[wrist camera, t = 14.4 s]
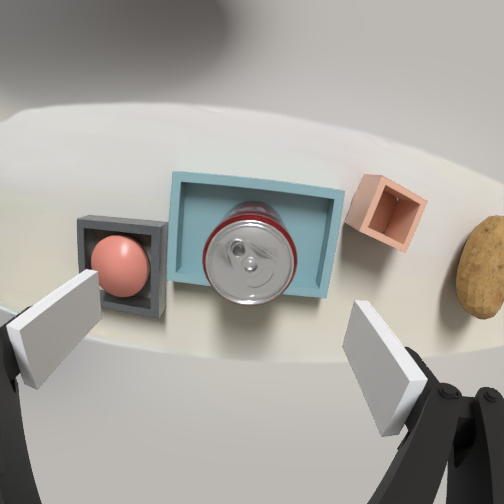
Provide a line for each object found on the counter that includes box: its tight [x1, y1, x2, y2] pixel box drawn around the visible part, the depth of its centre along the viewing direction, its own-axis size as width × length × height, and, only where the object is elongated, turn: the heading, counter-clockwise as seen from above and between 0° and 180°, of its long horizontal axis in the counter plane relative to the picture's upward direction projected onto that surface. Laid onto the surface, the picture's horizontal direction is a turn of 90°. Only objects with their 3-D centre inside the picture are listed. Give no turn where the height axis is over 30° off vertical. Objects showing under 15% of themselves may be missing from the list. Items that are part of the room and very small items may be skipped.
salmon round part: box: [91, 234, 150, 297], centre depth 35 cm, size 8×8×2 cm
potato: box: [456, 215, 504, 319], centre depth 31 cm, size 10×14×8 cm
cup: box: [345, 174, 427, 253], centre depth 31 cm, size 6×6×6 cm
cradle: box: [77, 215, 168, 318], centre depth 34 cm, size 11×11×3 cm
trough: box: [167, 172, 345, 298], centre depth 33 cm, size 18×12×3 cm, turn 84°
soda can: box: [202, 201, 298, 306], centre depth 28 cm, size 7×7×12 cm
